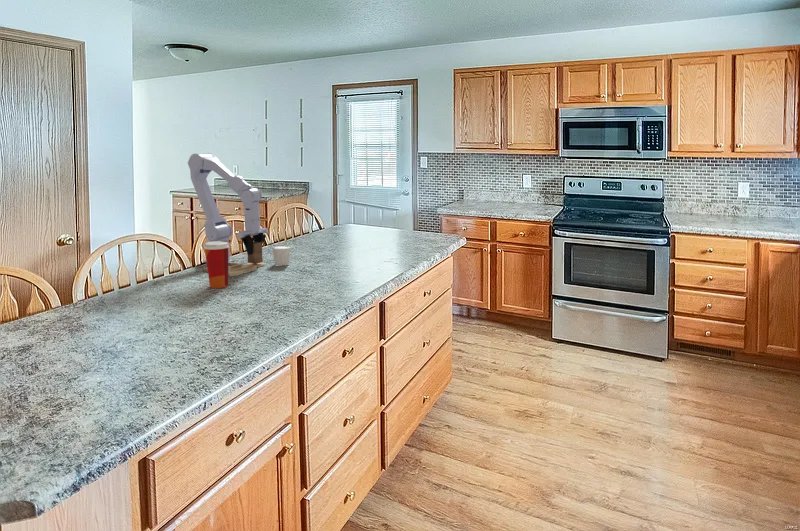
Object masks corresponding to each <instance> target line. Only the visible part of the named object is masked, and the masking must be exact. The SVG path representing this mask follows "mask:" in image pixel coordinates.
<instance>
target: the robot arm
mask: <svg viewBox="0 0 800 531" xmlns="http://www.w3.org/2000/svg"><path fill="white" fill-rule="evenodd" d="M187 165H188V168H189V171H190V173H189V174H190V180H191V182H192V185H193V187H194V191H195V193H196V196H197V198H198V201H199V203H200V205H201V207H202V210H203V214H204V217H205V219H206V221H205V223H204V224H203V226H204V230H205V237H206V238H207V241H206V242H205V243H208V242H215V241H222V242H227V243H228V245H229V247H228V262H235V259H231V258H230V256H231V255H230V243H229V240H230V237H231V236H232V233H233V230H232V226H231V225H230V224H229V223H228V221H227V219H226V218H225V217H223V216H222V215H221V214H220V212H219V211H220V210H219V208H218V206H217V203H216V200H215V198H214V196H213V193H212V191H211V187H210V185H209V183H208V181H207V179H208V176H209V175H210V173H212V171H213V172H214V173H216V174H217V175H218V176H220V178H222V179H223V180H225V181H226V182H227V183H228V187H229V188H230V189H231V190H232V191H233V192H235V193H236V194H237V196H239V197H240V200H241V202H242V204H243V209H244V210H243V212H244V228H245V230H243V231H239V232H237V238H238V239H240V240H241V242H242V244H243V245H244V247H245V251H246V254H247V255H248V254H250V255H252V254H253V242H254V241H255V242H262V245H263V244H264V241H265V239H266V237H267V234H269V229H268V228H267V227H261V217H260V214H261V213H260V201H261V200H262V192H261V191H260V190H261V189H259V188H258V187H252V184H249V183H248V182H247V181H246V180H244V177H243V176H241V175H234V174H233V173H232V172H231V171H230V170H229V169H228V168H227V167H226V166H225V165H224V164H223V163H222V162H221V161H220V160H219V157H217V156H215V154H213V153H211V152H208V153H193V154H191V155H190V157H189V159H188V161H187ZM204 255H205V257H206V254H204ZM203 262H204V263H207V262H206V260H204V261H203Z"/></svg>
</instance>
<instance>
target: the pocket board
mask: <svg viewBox="0 0 800 531" xmlns="http://www.w3.org/2000/svg"><path fill="white" fill-rule="evenodd" d="M257 270H258V267H253V266H246V265H244V264H243V263H239V262H235V261H233V262H228V275H230V277H236V276H240V275H243V273H244V274H247V272H248V273H251V271H252V272H255V271H257ZM202 271H203V272H205V273H208V269H207V266H206V267H203V268H202Z"/></svg>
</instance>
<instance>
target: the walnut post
mask: <svg viewBox="0 0 800 531" xmlns="http://www.w3.org/2000/svg"><path fill="white" fill-rule="evenodd" d="M261 262H262V263H264V262H263V244H262V242H255V241H253V254H252V255H250V254H247V263H253V264H257V263H261Z"/></svg>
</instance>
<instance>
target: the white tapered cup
mask: <svg viewBox="0 0 800 531" xmlns="http://www.w3.org/2000/svg"><path fill="white" fill-rule="evenodd" d="M272 253H273V260H274V266H276V265H278V266H277V267H283V266H282V265H285V266H289V265H290V253H291V247H290V246H286V245H280V246H279V245H277V246H273V247H272ZM288 264H289V265H288Z"/></svg>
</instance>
